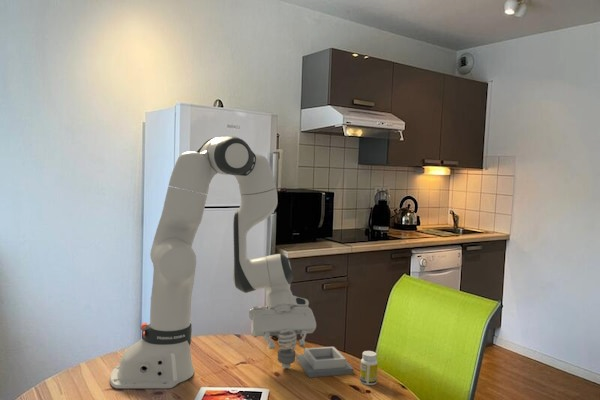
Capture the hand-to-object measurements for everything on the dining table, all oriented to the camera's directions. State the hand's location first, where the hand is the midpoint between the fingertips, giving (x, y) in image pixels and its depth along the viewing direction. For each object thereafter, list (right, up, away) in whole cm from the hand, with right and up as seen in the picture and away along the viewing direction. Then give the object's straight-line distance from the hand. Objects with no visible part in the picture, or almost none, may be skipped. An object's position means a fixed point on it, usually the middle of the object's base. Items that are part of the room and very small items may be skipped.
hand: (287, 347), depth 136 cm
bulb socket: (+11, -7, +4) cm, 14 cm away
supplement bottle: (+23, -8, -6) cm, 25 cm away
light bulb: (0, -7, +1) cm, 7 cm away
